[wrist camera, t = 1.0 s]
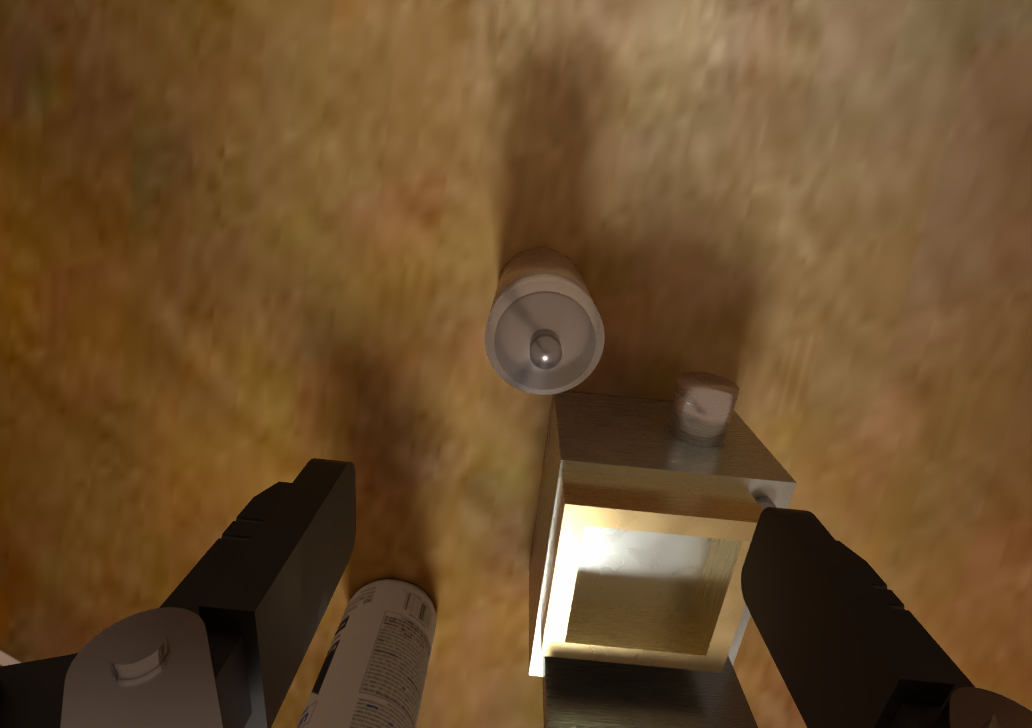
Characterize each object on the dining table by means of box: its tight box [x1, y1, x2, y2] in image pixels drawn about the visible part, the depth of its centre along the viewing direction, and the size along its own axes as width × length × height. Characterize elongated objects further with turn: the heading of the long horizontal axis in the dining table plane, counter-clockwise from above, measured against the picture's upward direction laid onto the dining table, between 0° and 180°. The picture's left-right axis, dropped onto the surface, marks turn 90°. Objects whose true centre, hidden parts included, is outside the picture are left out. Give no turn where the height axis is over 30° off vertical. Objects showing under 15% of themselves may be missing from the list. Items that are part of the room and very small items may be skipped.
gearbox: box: [529, 372, 796, 728], centre depth 27 cm, size 17×11×13 cm, turn 174°
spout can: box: [485, 248, 605, 395], centre depth 24 cm, size 5×5×11 cm
